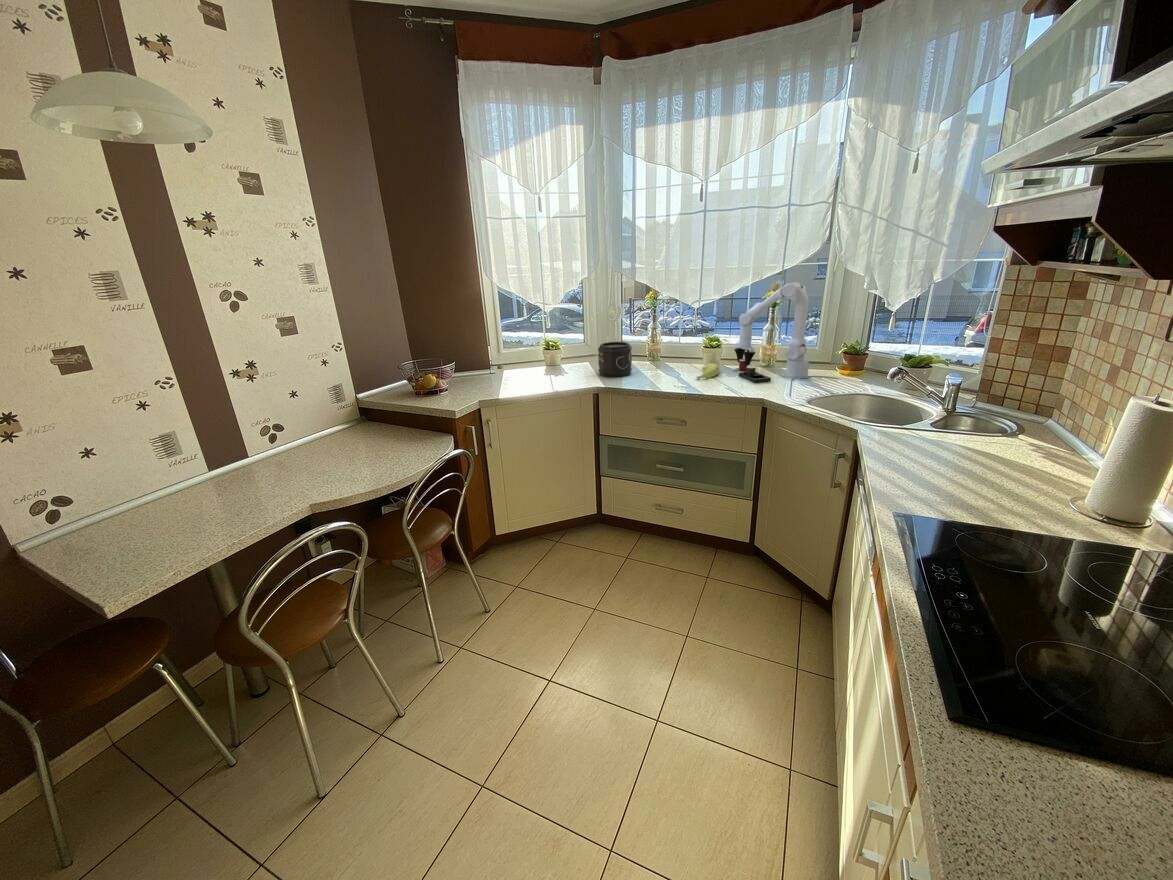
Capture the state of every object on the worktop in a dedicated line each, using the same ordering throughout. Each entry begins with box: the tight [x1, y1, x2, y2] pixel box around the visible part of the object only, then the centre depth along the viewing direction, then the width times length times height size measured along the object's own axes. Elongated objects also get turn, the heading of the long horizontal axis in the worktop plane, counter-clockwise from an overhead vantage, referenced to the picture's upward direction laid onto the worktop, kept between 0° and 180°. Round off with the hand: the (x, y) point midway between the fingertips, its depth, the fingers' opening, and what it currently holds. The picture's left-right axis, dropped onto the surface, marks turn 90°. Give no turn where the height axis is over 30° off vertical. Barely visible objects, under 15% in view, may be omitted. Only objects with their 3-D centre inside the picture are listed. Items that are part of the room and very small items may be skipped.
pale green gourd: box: [696, 362, 720, 381], centre depth 241 cm, size 14×6×20 cm
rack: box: [738, 371, 772, 384], centre depth 229 cm, size 15×8×2 cm, turn 12°
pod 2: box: [746, 365, 757, 375], centre depth 231 cm, size 4×4×5 cm
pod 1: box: [738, 358, 748, 371], centre depth 246 cm, size 4×4×5 cm
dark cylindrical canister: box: [597, 341, 633, 378], centre depth 252 cm, size 18×18×16 cm
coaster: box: [734, 367, 747, 373], centre depth 247 cm, size 8×8×1 cm
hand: (743, 363), depth 246 cm, fingers open, 7 cm apart
